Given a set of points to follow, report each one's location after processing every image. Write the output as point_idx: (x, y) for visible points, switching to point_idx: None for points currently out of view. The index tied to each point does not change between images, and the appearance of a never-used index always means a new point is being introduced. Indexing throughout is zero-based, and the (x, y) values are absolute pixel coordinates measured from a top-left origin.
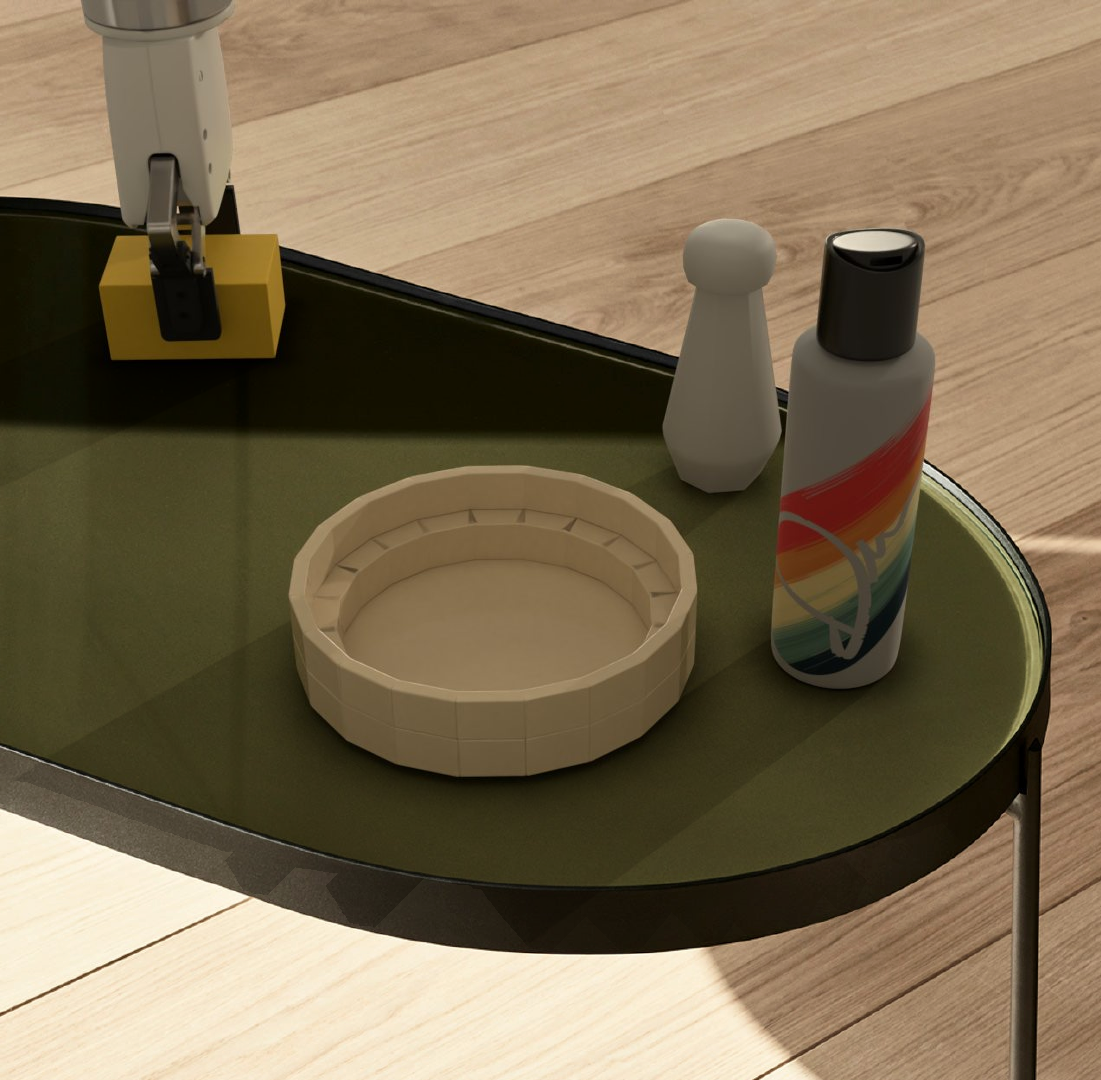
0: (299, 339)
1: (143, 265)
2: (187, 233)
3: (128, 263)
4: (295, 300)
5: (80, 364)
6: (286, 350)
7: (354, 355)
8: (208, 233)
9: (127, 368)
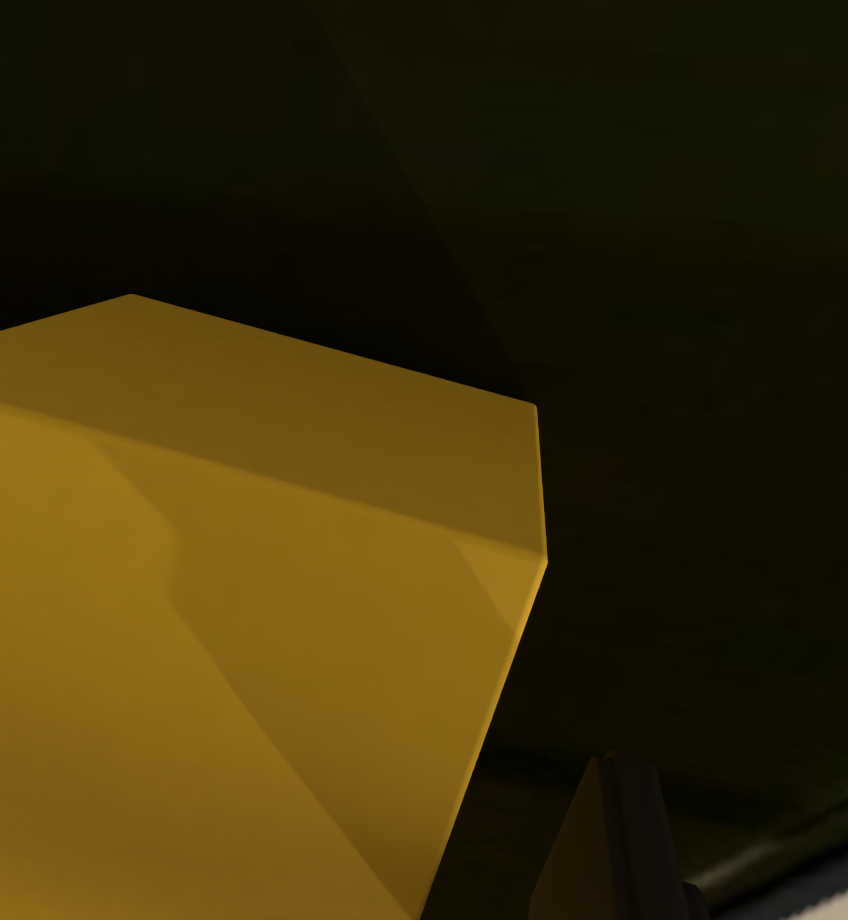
0: None
1: (103, 638)
2: (602, 846)
3: (137, 570)
4: None
5: (121, 165)
6: None
7: None
8: (568, 915)
9: None
